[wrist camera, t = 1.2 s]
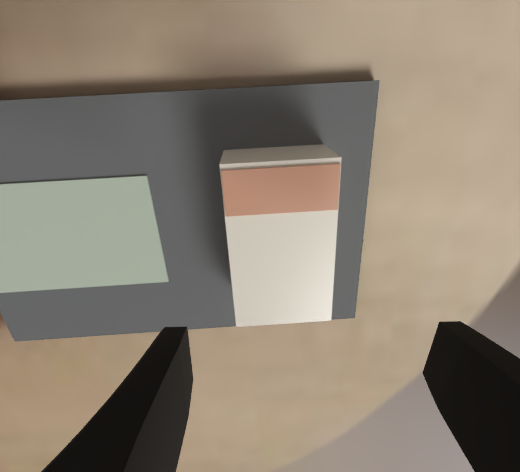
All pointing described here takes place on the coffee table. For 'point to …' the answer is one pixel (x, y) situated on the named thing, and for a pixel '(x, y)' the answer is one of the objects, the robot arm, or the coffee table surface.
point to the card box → (281, 231)
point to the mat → (155, 202)
